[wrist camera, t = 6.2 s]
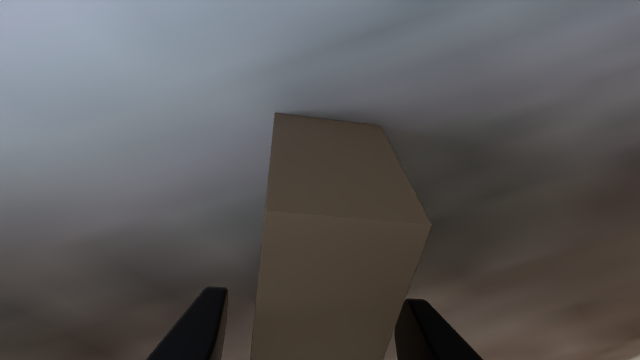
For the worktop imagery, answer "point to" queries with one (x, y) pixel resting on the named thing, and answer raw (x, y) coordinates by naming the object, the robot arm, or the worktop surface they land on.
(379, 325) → the lid
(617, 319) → the worktop surface
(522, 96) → the worktop surface
